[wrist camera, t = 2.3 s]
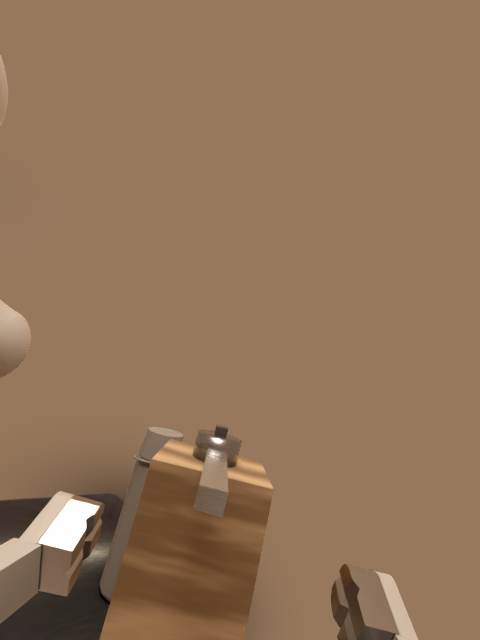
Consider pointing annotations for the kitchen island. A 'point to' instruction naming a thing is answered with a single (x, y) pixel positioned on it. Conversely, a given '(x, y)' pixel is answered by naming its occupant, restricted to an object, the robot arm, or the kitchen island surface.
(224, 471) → the ratchet wrench
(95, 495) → the kitchen island surface
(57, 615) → the kitchen island surface
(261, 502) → the wooden block
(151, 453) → the water bottle
